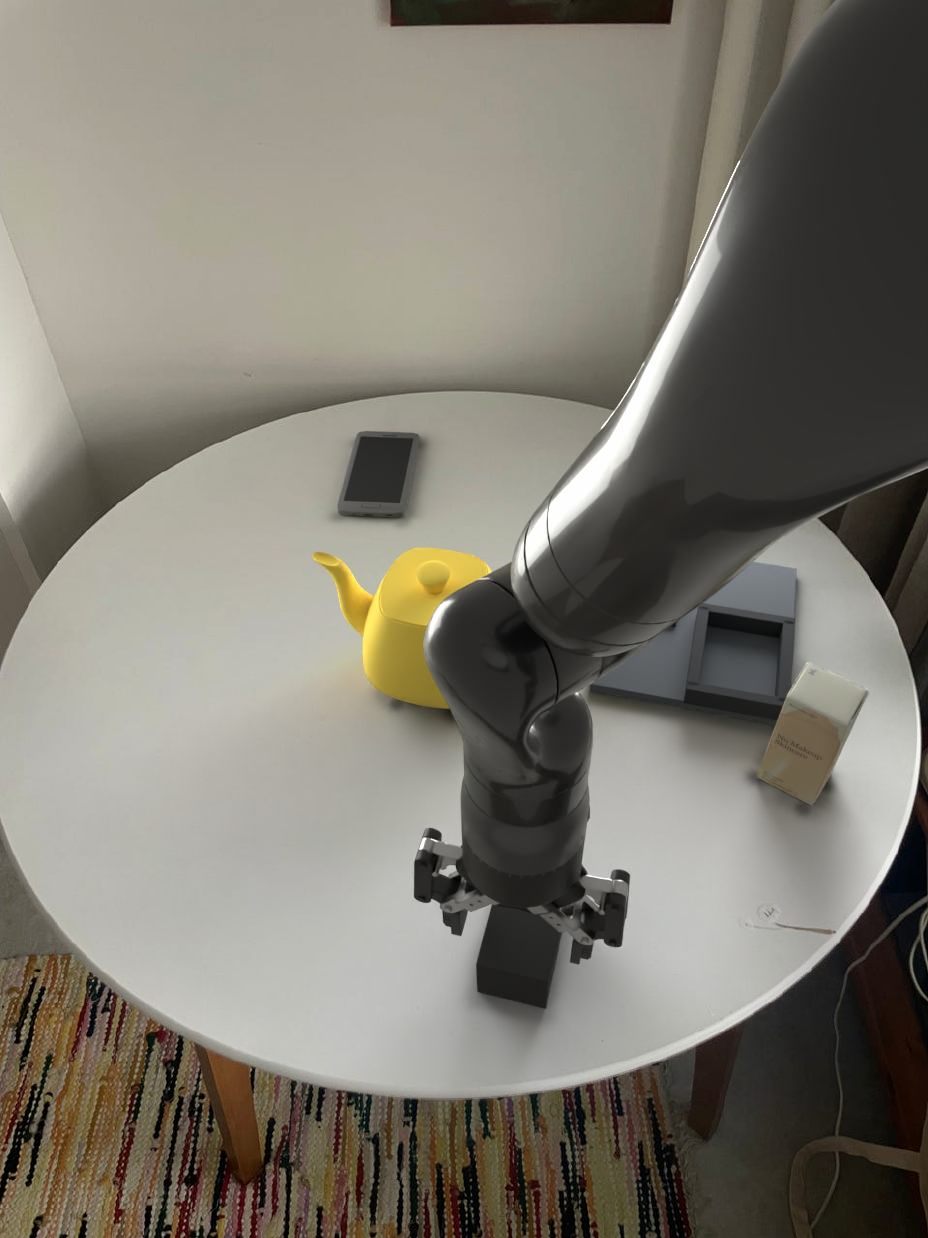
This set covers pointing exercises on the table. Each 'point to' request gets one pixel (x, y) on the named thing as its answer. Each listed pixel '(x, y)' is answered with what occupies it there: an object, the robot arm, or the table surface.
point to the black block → (517, 956)
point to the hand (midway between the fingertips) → (518, 937)
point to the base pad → (721, 652)
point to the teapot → (402, 616)
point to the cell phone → (379, 474)
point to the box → (811, 732)
